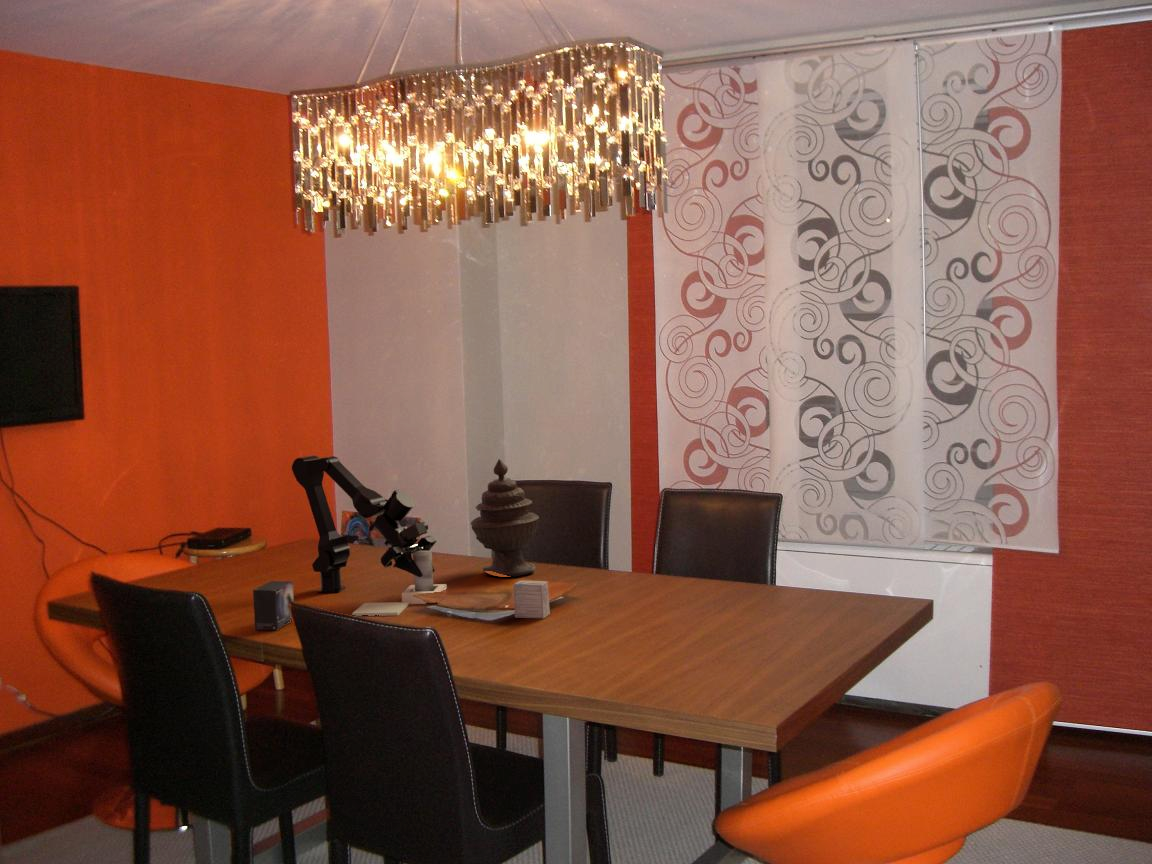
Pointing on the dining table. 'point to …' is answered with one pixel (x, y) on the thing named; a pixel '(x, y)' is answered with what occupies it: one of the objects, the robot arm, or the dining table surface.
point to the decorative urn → (505, 524)
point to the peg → (424, 571)
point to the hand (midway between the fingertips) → (427, 574)
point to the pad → (381, 609)
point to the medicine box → (531, 599)
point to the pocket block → (410, 591)
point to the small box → (272, 605)
